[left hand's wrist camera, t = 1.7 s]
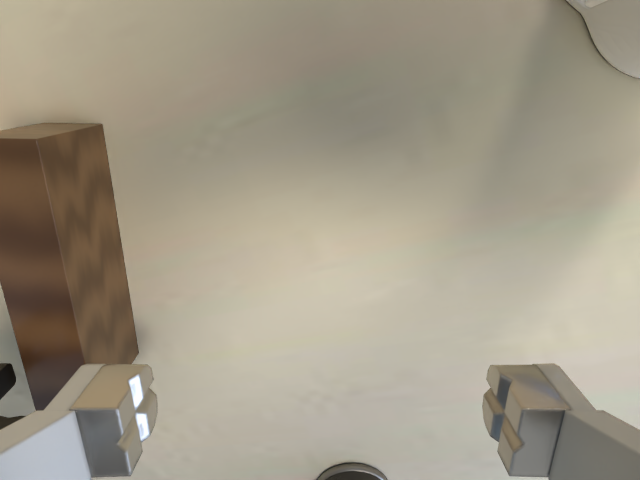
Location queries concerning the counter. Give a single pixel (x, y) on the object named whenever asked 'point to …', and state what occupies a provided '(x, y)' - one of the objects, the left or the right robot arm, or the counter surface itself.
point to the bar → (62, 254)
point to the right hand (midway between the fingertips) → (60, 371)
